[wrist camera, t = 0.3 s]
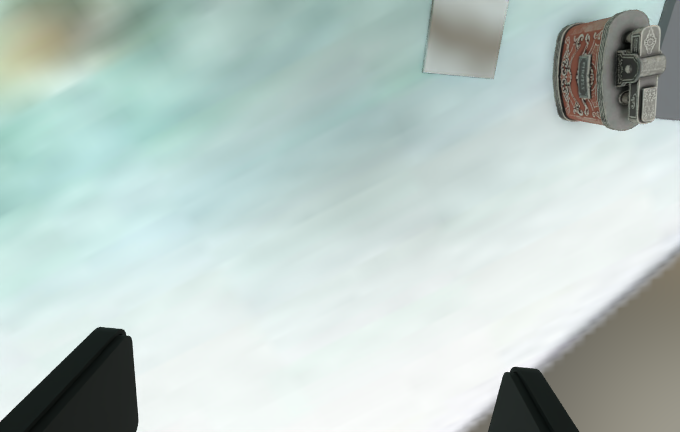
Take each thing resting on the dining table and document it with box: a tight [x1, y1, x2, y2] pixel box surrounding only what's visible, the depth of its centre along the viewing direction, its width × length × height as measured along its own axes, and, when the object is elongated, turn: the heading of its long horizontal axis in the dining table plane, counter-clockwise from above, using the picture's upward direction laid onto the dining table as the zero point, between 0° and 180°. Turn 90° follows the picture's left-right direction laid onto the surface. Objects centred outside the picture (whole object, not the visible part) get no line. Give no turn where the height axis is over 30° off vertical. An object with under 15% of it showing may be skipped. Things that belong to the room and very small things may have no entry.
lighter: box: [553, 10, 666, 131], centre depth 31 cm, size 8×3×10 cm, turn 10°
